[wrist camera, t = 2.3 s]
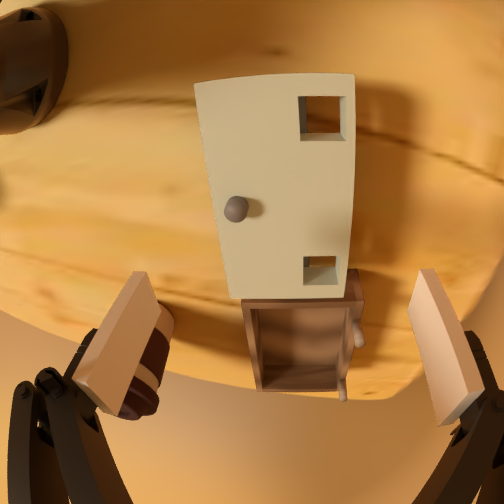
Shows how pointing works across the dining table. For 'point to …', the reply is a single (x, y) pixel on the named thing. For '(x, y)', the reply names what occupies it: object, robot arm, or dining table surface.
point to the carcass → (305, 340)
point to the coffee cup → (149, 371)
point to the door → (279, 182)
